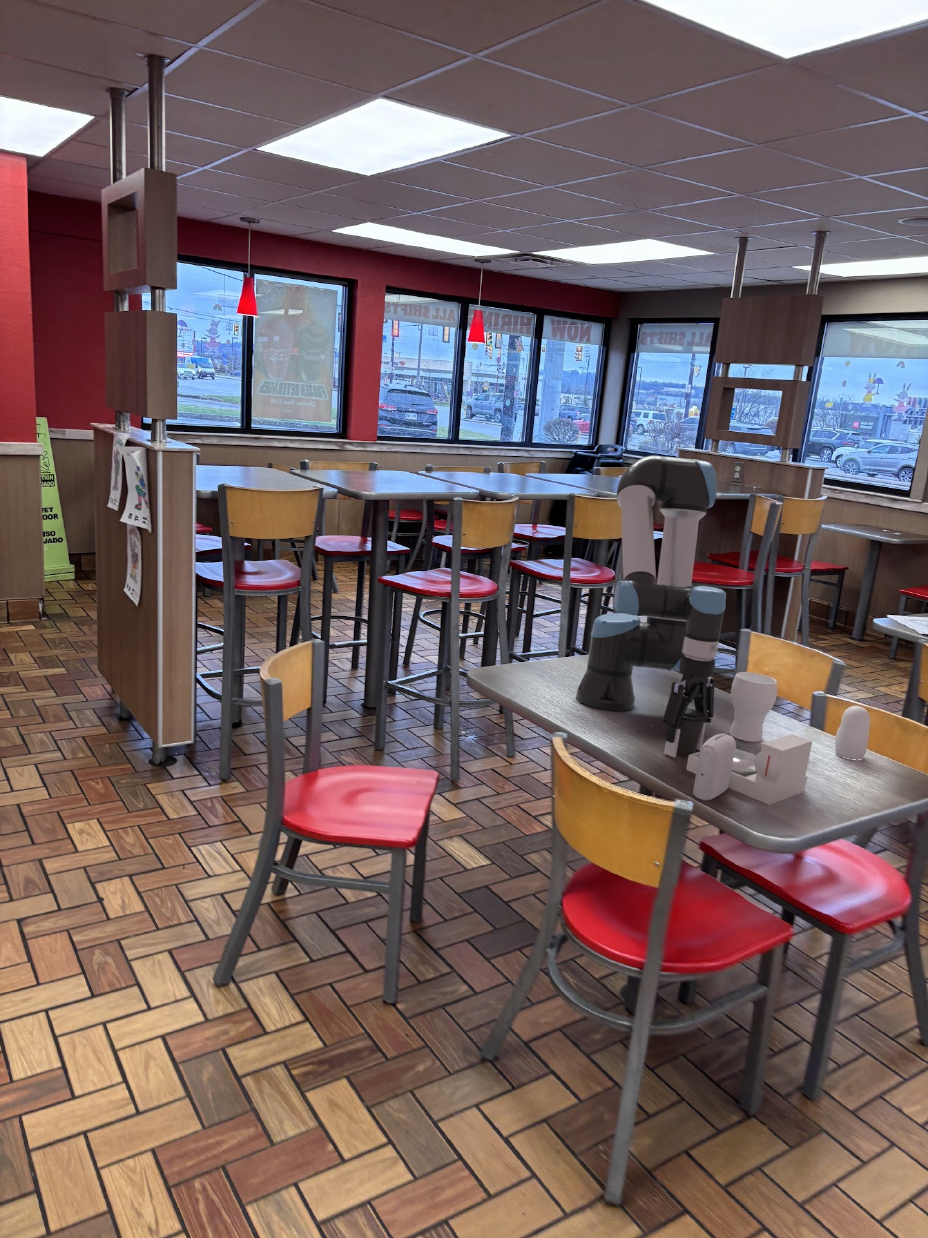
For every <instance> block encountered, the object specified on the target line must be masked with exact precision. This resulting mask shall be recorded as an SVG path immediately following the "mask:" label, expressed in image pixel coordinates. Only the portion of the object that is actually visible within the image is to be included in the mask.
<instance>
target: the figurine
mask: <svg viewBox="0 0 928 1238" xmlns="http://www.w3.org/2000/svg"><path fill="white" fill-rule="evenodd" d="M870 726H871V716H870V714H869V712H868V711H867V709H866V708H864V707H862V706H860V705H853V706H849V707H848V708H846V709H845V711H844V712H843V713H842V717H841V721H840V726H839V727H838V729H837V731H836V734H835V739H834V740H835V741H834V743H835V744H834V747H835V748H834V749H835V750H834V751H835V754H836V755H837V754H838V755H839V756H838V755H837V756H838V757H840V756H842V757H845V758H849V759H856V760H858V759H862V760H863V759H864V757H865V755H866V752H867V748H868V743H869V735H870V734H869V733H870V728H871V727H870ZM842 757H841V758H842ZM845 758H844V759H845Z"/></svg>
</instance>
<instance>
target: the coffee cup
mask: <svg viewBox="0 0 928 1238" xmlns="http://www.w3.org/2000/svg"><path fill="white" fill-rule="evenodd" d="M706 720H707V718H706V715H705V714H703V713H701V712H699V711H697V710H695V708H689V707H687V709H686V712H685V714H684V716H683V718H682V721H681V723H680V725H679V727H678V729H680V735H679V741H678V747H677V753H676V756H679V757H686V758H687V757H689V755H691V754H694V753H696V751H697V749H696V747H697V744H698V741H699V737H700V734H701V730H702V727H703V724H704V721H706Z"/></svg>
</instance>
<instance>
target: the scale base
mask: <svg viewBox="0 0 928 1238" xmlns="http://www.w3.org/2000/svg"><path fill="white" fill-rule="evenodd" d="M812 744H813V740H810V739H807V738H805V737H802V736H799V735H796V734H793V733H791V734H789V735H785V736H782V737H781V736H780V737H779V738H775V739H771V740H768V741H766V742H762V743H761V748H760V752H758V753H757V754H756V757H755V760H754V766H755V770H756V772H757V773H756V774H736V773H734V772H731V776H730V782H729V786H728V789H731V790H732V791H735V792H738V793H741V794H742V795H745V796H747V797H750V798H752V799H754V800H756V801H760V802H761V803H763V804H766V805H768V806H771V805H773V804H777V803H779V802H781V801H783V800H786V799H789V798H791V797H794V796H797V795H798V794H801V793H804V792H806V786H807V782H808V781H807V780H808V776H807V770H808V766H809V759H810V754H811V749H812V746H813V745H812ZM699 754H700V751H698V752H695V753H694V754H691V755H689V757H688V758H687V763H686V768H685V769H686V771H688V772H691V773H693V774H695V775H696V772H697V766H698V760H699Z"/></svg>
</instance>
